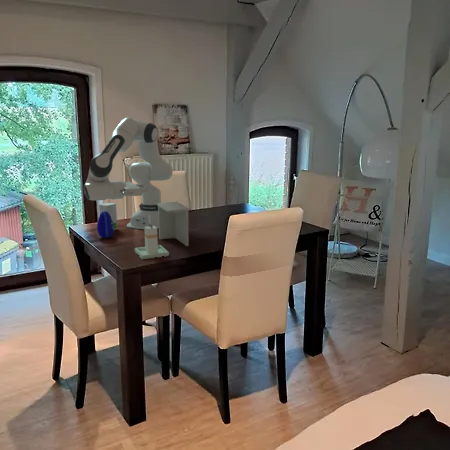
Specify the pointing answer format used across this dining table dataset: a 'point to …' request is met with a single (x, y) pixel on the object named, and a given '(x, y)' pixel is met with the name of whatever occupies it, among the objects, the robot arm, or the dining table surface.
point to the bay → (173, 221)
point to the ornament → (105, 225)
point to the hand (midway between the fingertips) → (146, 187)
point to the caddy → (151, 239)
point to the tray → (144, 255)
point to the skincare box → (110, 211)
